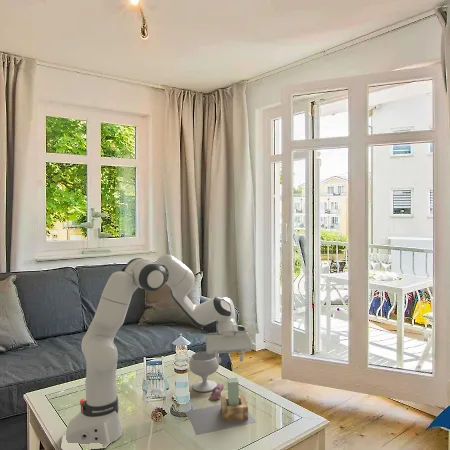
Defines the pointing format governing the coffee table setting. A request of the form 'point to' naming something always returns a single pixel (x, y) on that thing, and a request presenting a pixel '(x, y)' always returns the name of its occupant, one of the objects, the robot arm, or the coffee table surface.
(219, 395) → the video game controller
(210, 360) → the chalice
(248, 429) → the coffee table surface
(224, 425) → the base board
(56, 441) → the coffee table surface
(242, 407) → the square hole block
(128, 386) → the coffee table surface
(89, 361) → the robot arm
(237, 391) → the bracket bar
